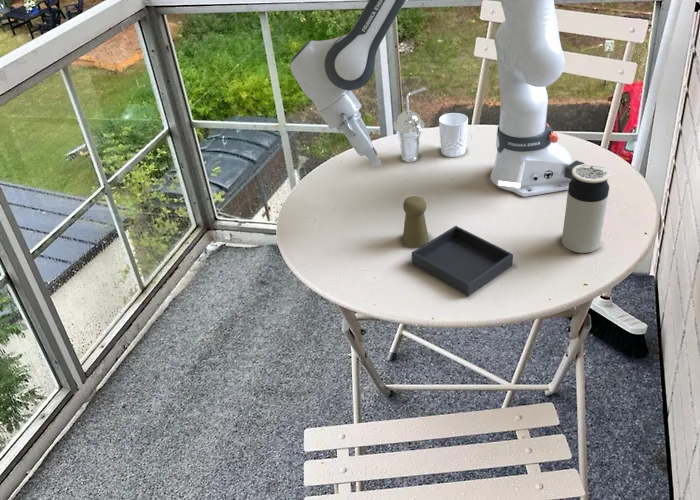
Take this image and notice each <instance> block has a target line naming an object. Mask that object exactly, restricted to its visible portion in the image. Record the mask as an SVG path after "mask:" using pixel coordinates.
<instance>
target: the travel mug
mask: <svg viewBox="0 0 700 500" xmlns="http://www.w3.org/2000/svg"><path fill="white" fill-rule="evenodd" d="M572 175H573V178H572V180H571V181H570V182H569V187H568V190H567V196H566V204H565V212H564V220H563V228H562V236H561V243H562V245H563V246H564V248H566V249H567V250H569V251H571V252H576V253H581V254H584V253H591V252H594V251H596V250H598V249H599V248H600V245H601V239H602V234H603V228H604V222H605V217H606V210H607V204H608V199H609V192H610V185H609V182H608V180H609V178H610V177H611V172H610V170H609V169H608V168H607V167H605V166H603V165H601V164H597V163H585V164H580V165H577V166H575V167H574V168H573V169H572Z"/></svg>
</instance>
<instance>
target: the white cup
mask: <svg viewBox="0 0 700 500" xmlns="http://www.w3.org/2000/svg"><path fill="white" fill-rule="evenodd" d="M468 125H469V117H468V116H467V115H466V114H464V113H460V112H449V113H445V114H442V115H441V116H439V118H438V129H439V143H440V152H441V154H442V155H443V156H445V157H449V158H457V157H461V156H463V155H464V154H466V149H467V142H468V141H467V139H468Z"/></svg>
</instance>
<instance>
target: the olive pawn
mask: <svg viewBox="0 0 700 500" xmlns="http://www.w3.org/2000/svg"><path fill="white" fill-rule="evenodd" d="M402 209H403V212H404V213H405V216H404V225H403V232H402V233H403V234H402V243H403V244H404V245H405V246H407V247H409V248H420V247H422V246H423V245H425V244H427V243H428V242H430V239H429V233H428V227H427V226H428V225H427V222H426V216H425V212H426V210H427V202H426V200H425V199H424V197H422V196H420V195H411V196H408V197H406V198H405V199H404V201H403V203H402Z"/></svg>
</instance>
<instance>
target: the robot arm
mask: <svg viewBox="0 0 700 500" xmlns="http://www.w3.org/2000/svg"><path fill="white" fill-rule="evenodd" d="M407 2H409V0H368V1H367V3H366V4H365V6H364V8H363V9H362V11H361V13H360V15H359V17H358V18H357V21H356V22H355V24H354V25H353V27H352V28H351V29H350V31H349V32H348V33H347V34H344V35H341V36H338V37H334V38H330V39H323V40H308V41H307V42H305V43H304V44H303V45H302V47H301V48H300V49H299V50H298V51H296V53H295V54H294V55H293V56H292V58H291V60H290V63H289V69H290V71H291V74H292V76H293V77H294V80H295V81H296V83H297V84H298V86H299V87H300V89H301V90H302V92H303V93H304V94H305V97H307V98H308V99H310V100H311V101H312V103H313V104H314V106H315V109H316V111H317V112H318V114H319V116H320V117H321V118H322V120H323V121H324V122H325V124H326V125H327V126H328V128H329V129H330V130H332V129H334V128H336V129H337V132H342V133H343V134H344V136H345V138H346V140H347V141H348V142H349V144H350V145H351V147H352V148H353V149H354V151H355V152H356V153H357V154H358V155H359V157H363V156H364V157H365V159H367V160H368V161H369V162H370V163H371V165H372V166H373V167H374V168H377V167H379V166H380V165H381V160H380V158H379V157H378V151H377V150H376V148H375V147H374V145H373V142H372V139H371V136H370V133H369V129H368V128H367V126H366V124H365V122H364V120H363V119H362V113H361V112H360V111H359V110H360V109H362V103H361V102H360V100H359V99H358V97H357V96H356V95H355V94H354V92H353V91H357V90H359V89H362V88H363V87H364V86H366V85H367V84H368V83H369V82H370V81H371V78H372V77H373V74H374V70H375V63H376V56H377V52H378V50H379V47H380V45H381V43H382V42H383V40H384V38H385V36H386V35H387V33H388V32H389V29H390V28H391V26H392V24H393V23H394V21H395V19H396V18H397V16H398V14H399V13H400V12H401V10H402V9H403V7H404V6H405V5H406V4H407ZM500 4H501V8H502V11H503V15H504V20H503V22H501V23H500V24H499V26H498V27H497V28H496V30H495V34H494V41H493V42H494V47H495V50H496V51H495V52H496V64H497V65H496V66H497V77H498V87H499V95H500V98H499V99H500V102H499V106H500V107H499V125H498V126H497V130H496V137H495V142H496V143H495V147H496V155H495V160H494V165H493V168H492V170H491V172H490V177H489V178H490V181H491V182H492V184H493V185H495V187H498V188H500V189H502V190H505V191H509V192H512V193H514V194H517V195H518V196H521V197H522V198H523V197H527V198H528V197H532V196H538V195H545V194H549V193H556V192H561V191H568V187H569V182H570V181H571V180H572V178H573V175H572V169H573V168H574V167H575V166H577V165H580V164H586V163H585V162H583V161H580V160H575V161H573V158H572V155H571V154H570V152H569V150H568V149H567V148H566V147H565V146H564V145H562V144H561V143H559V142H558V141H559V136H558V134H557V133H556V132H554V129H553V127H550V125H549V124H548V123H547V116H548V104H549V95H548V92H547V87H548V86H550V85H552V84H554V83H555V82H557V80H558V79H559V78H560V77H561V75H562V74H563V72H564V69H565V66H566V57H565V55H564V51H563V48H562V44H561V38H560V29H559V23H558V18H557V12H556V6H555V0H500Z"/></svg>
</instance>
